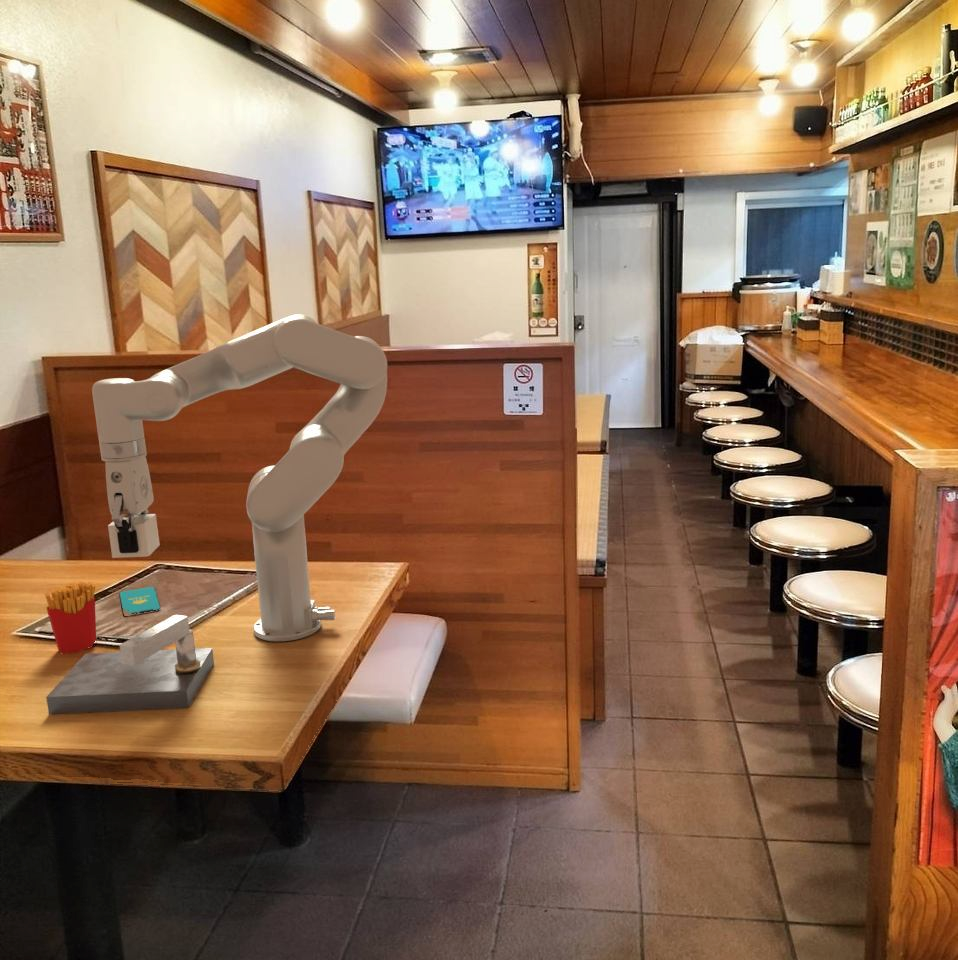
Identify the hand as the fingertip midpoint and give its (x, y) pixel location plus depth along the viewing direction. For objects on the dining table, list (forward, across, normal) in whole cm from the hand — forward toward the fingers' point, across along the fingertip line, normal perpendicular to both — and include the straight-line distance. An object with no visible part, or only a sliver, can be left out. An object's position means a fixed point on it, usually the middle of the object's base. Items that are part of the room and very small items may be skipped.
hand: (136, 545), depth 165 cm
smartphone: (+20, +22, +9) cm, 31 cm away
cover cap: (+1, 0, 0) cm, 1 cm away
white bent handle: (+16, -23, -10) cm, 30 cm away
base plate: (+19, -18, -4) cm, 27 cm away
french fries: (+19, 0, +13) cm, 23 cm away
